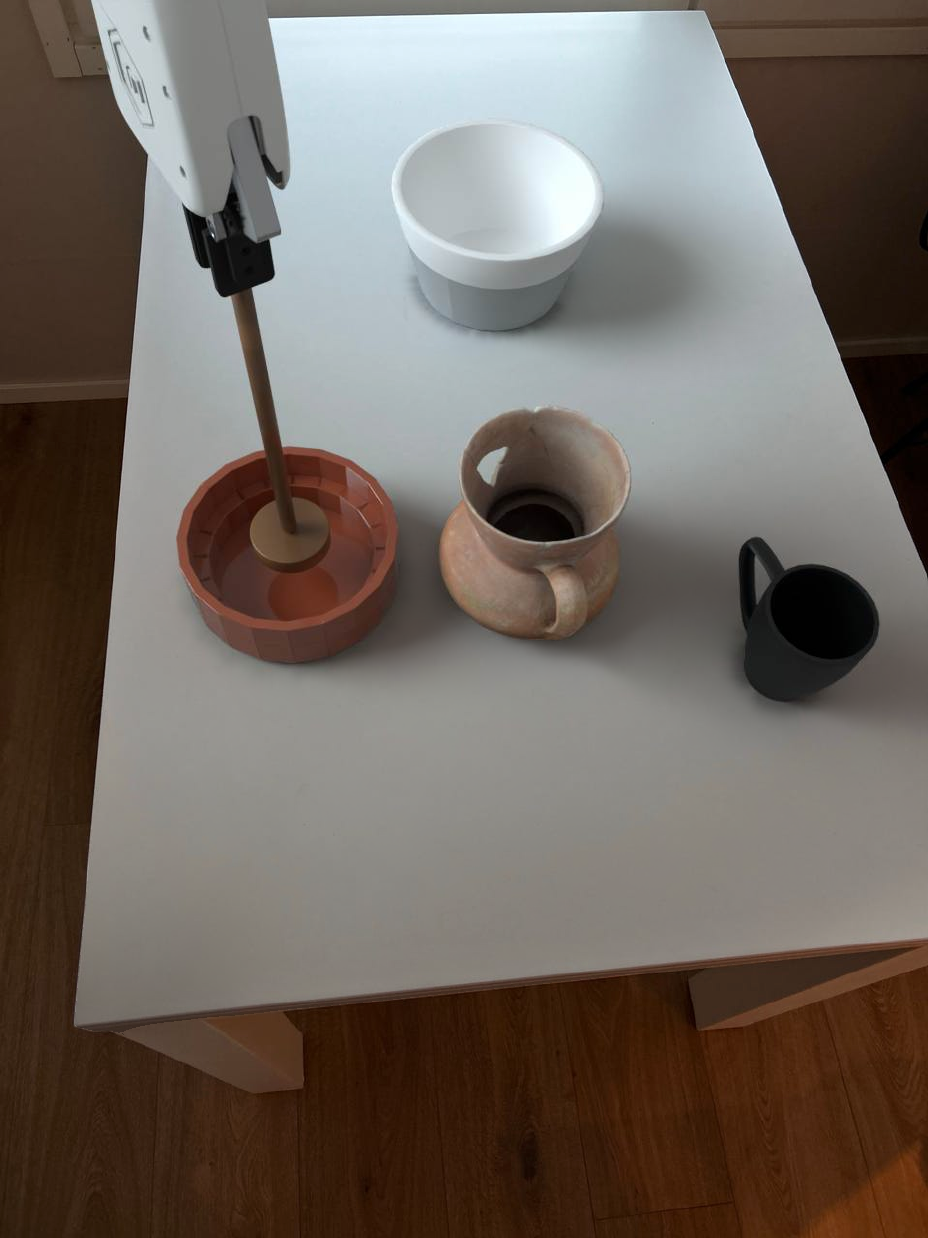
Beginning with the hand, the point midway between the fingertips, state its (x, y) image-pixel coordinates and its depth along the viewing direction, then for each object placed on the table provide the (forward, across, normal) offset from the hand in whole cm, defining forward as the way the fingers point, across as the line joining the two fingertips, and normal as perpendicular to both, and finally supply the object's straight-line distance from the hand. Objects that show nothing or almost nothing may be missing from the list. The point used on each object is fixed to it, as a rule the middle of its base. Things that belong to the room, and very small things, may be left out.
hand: (235, 269), depth 51 cm
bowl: (+32, -21, +32) cm, 49 cm away
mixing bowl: (+31, 0, 0) cm, 31 cm away
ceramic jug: (+31, +10, +16) cm, 37 cm away
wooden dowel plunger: (+27, 0, 0) cm, 27 cm away
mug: (+32, +25, +29) cm, 49 cm away
